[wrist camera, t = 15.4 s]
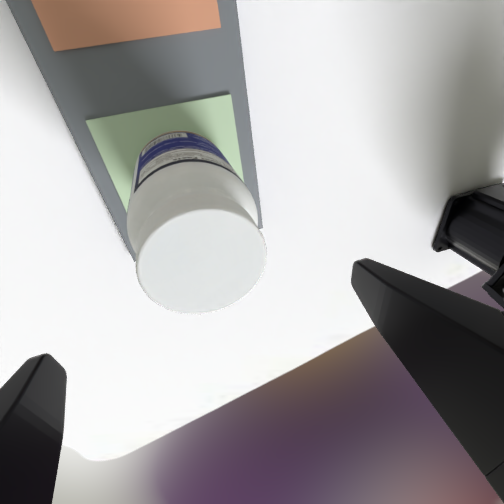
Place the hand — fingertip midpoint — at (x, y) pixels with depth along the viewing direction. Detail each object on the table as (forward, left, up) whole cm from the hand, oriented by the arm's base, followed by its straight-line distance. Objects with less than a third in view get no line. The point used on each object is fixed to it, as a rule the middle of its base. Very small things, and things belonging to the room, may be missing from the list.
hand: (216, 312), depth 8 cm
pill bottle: (0, 0, -12) cm, 12 cm away
